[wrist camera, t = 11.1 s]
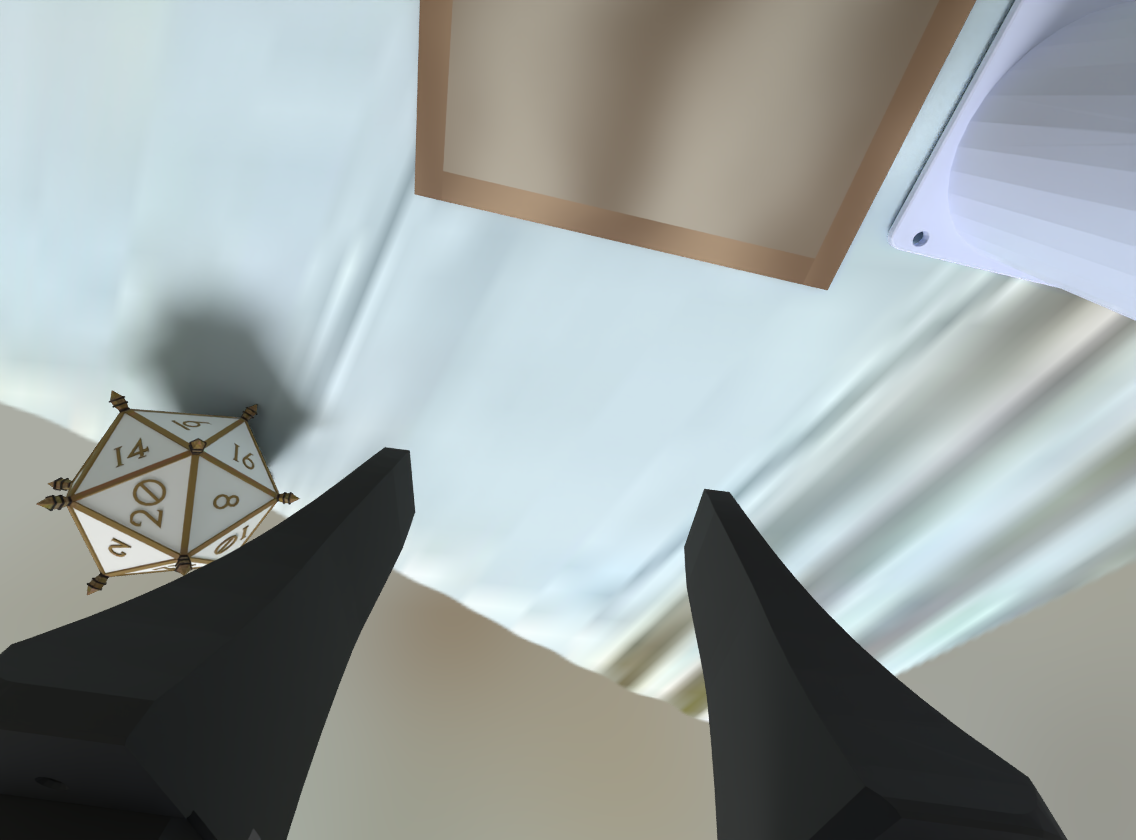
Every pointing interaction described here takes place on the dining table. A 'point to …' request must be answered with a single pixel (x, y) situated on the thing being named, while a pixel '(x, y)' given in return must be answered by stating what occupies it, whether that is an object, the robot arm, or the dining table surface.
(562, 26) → the shallow brown tray
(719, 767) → the robot arm
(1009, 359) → the dining table surface
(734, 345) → the dining table surface
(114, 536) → the game die
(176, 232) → the dining table surface
